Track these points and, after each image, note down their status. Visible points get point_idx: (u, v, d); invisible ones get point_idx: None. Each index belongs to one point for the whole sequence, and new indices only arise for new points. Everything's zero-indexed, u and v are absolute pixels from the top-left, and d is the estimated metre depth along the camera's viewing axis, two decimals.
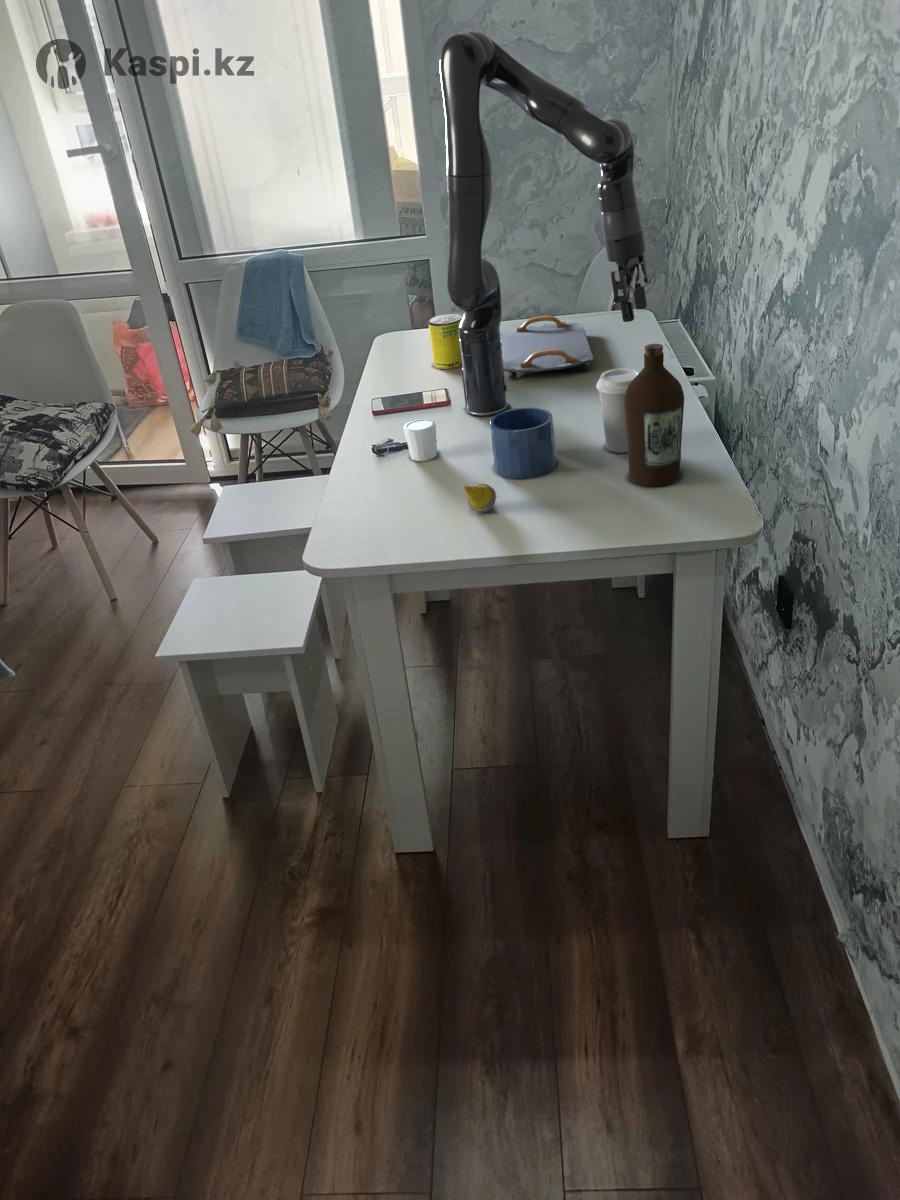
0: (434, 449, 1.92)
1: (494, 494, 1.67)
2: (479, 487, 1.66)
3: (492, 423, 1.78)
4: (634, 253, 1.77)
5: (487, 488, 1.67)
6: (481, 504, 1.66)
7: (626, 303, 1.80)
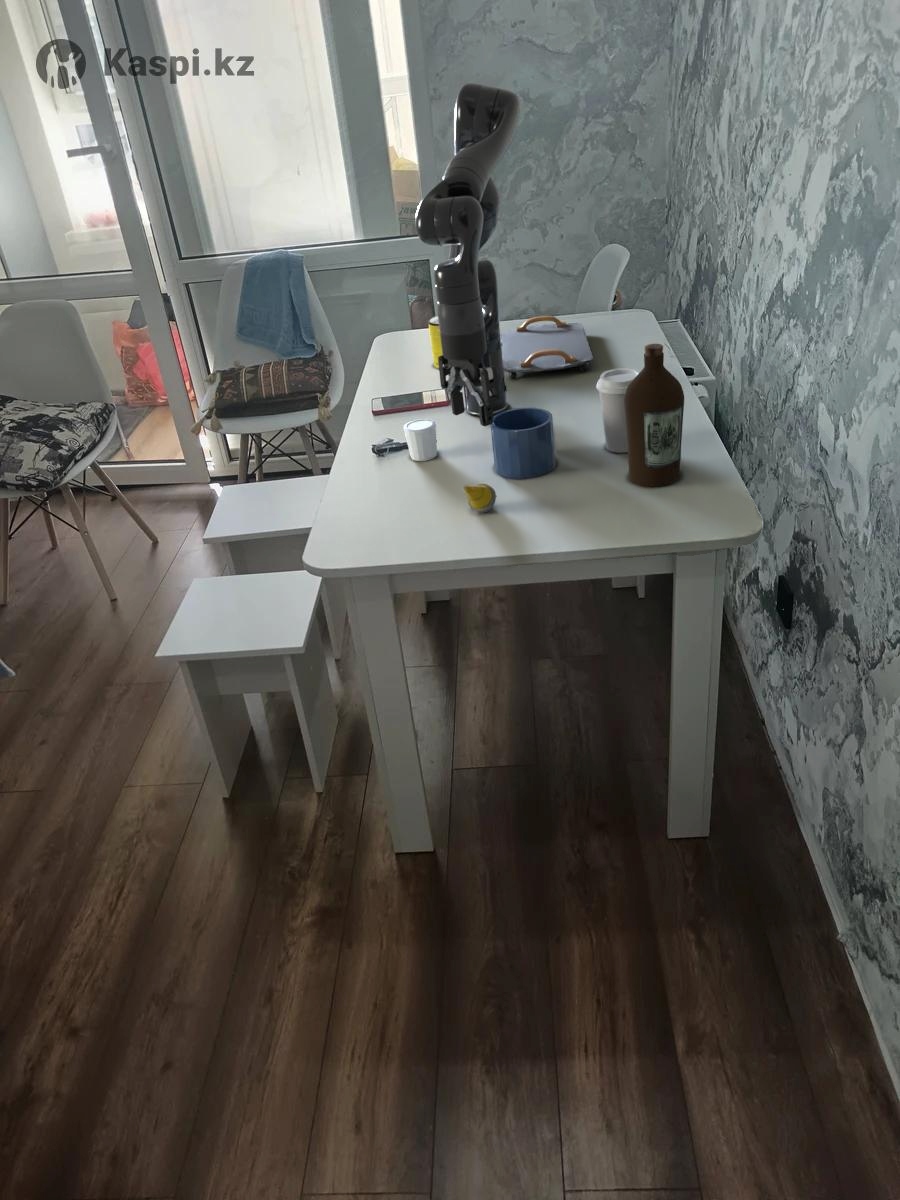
0: (434, 449, 1.92)
1: (494, 494, 1.67)
2: (479, 487, 1.66)
3: (492, 423, 1.78)
4: None
5: (487, 488, 1.67)
6: (481, 504, 1.66)
7: None
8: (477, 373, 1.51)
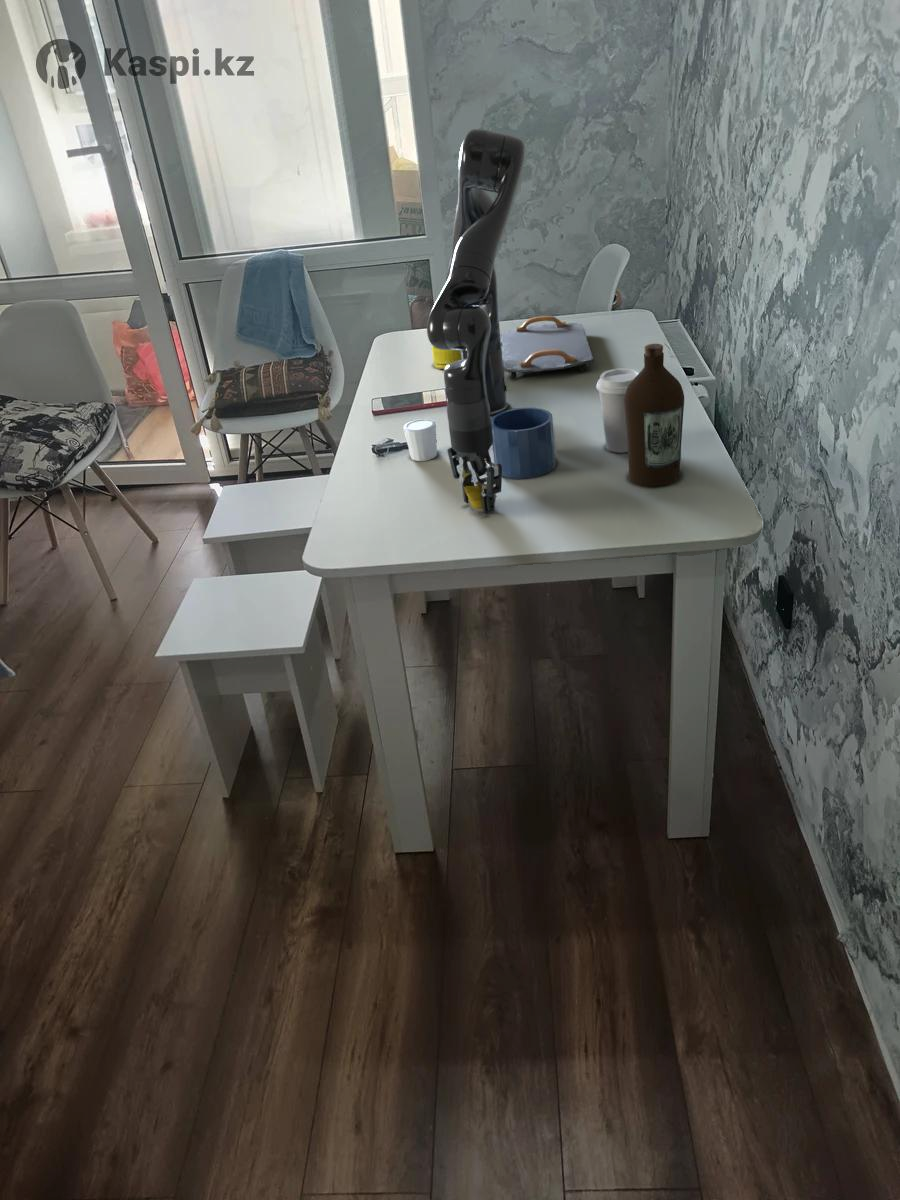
0: (434, 449, 1.92)
1: (494, 494, 1.67)
2: None
3: (492, 423, 1.78)
4: None
5: None
6: (481, 504, 1.66)
7: None
8: (484, 469, 1.61)
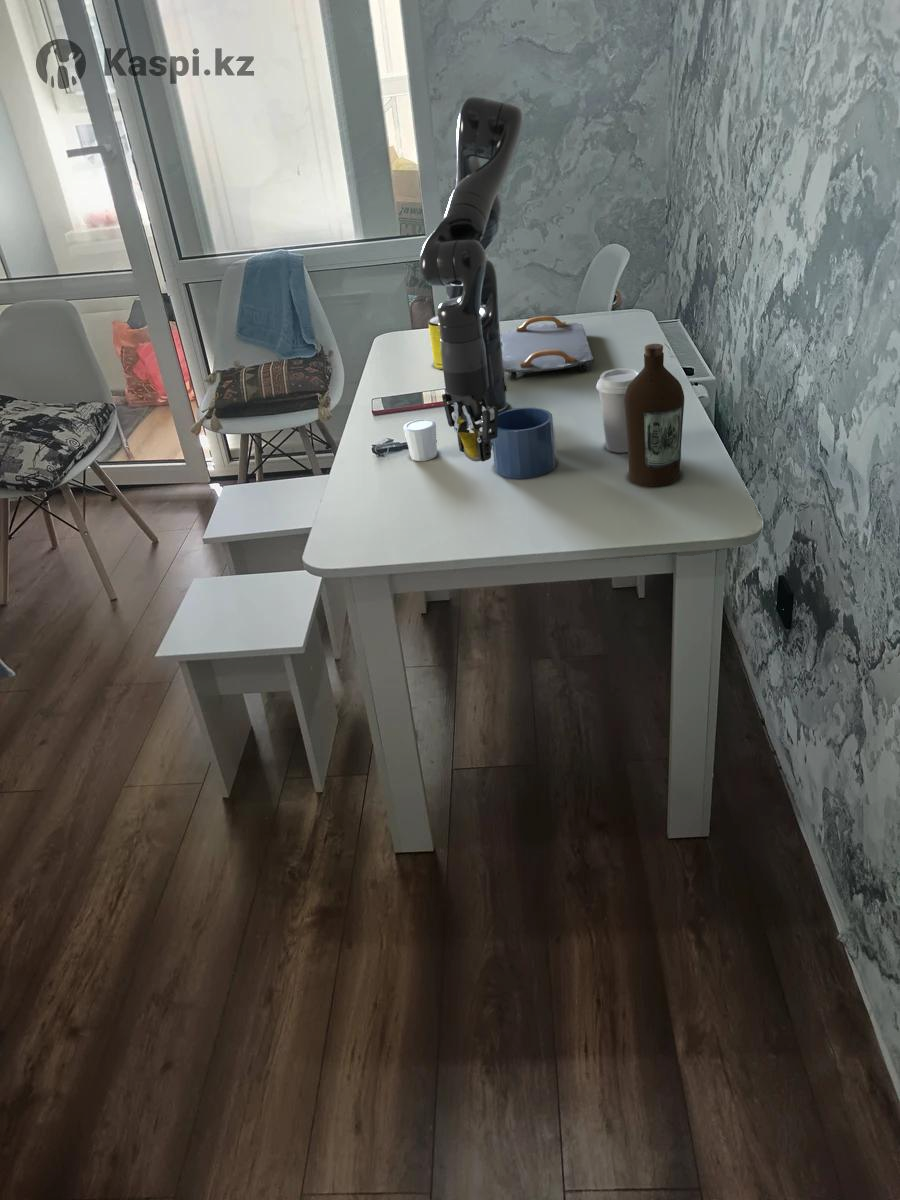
0: (434, 449, 1.92)
1: (490, 442, 1.61)
2: None
3: None
4: None
5: None
6: (477, 452, 1.61)
7: None
8: (480, 413, 1.55)
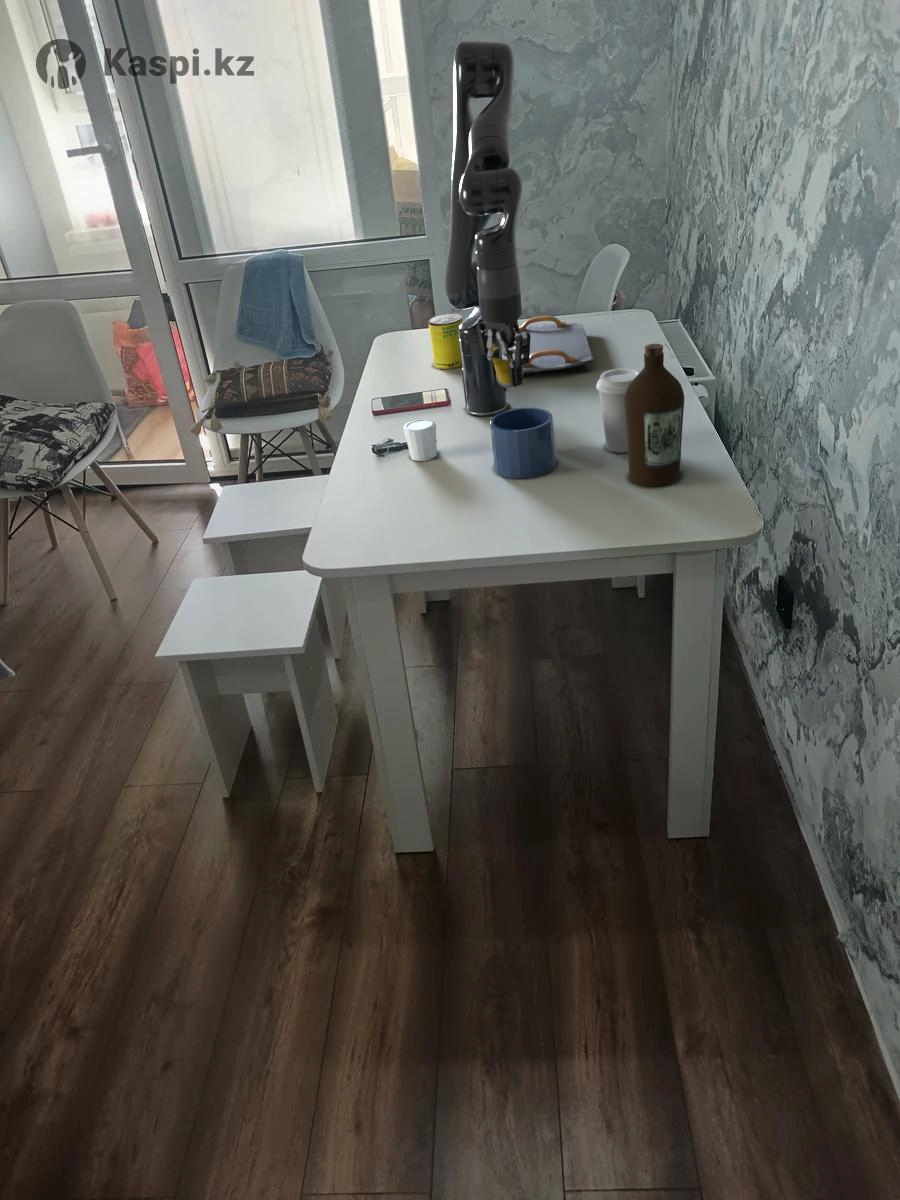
0: (434, 449, 1.92)
1: (522, 368, 1.70)
2: (507, 360, 1.68)
3: (492, 423, 1.78)
4: None
5: None
6: (509, 378, 1.69)
7: None
8: (513, 338, 1.63)
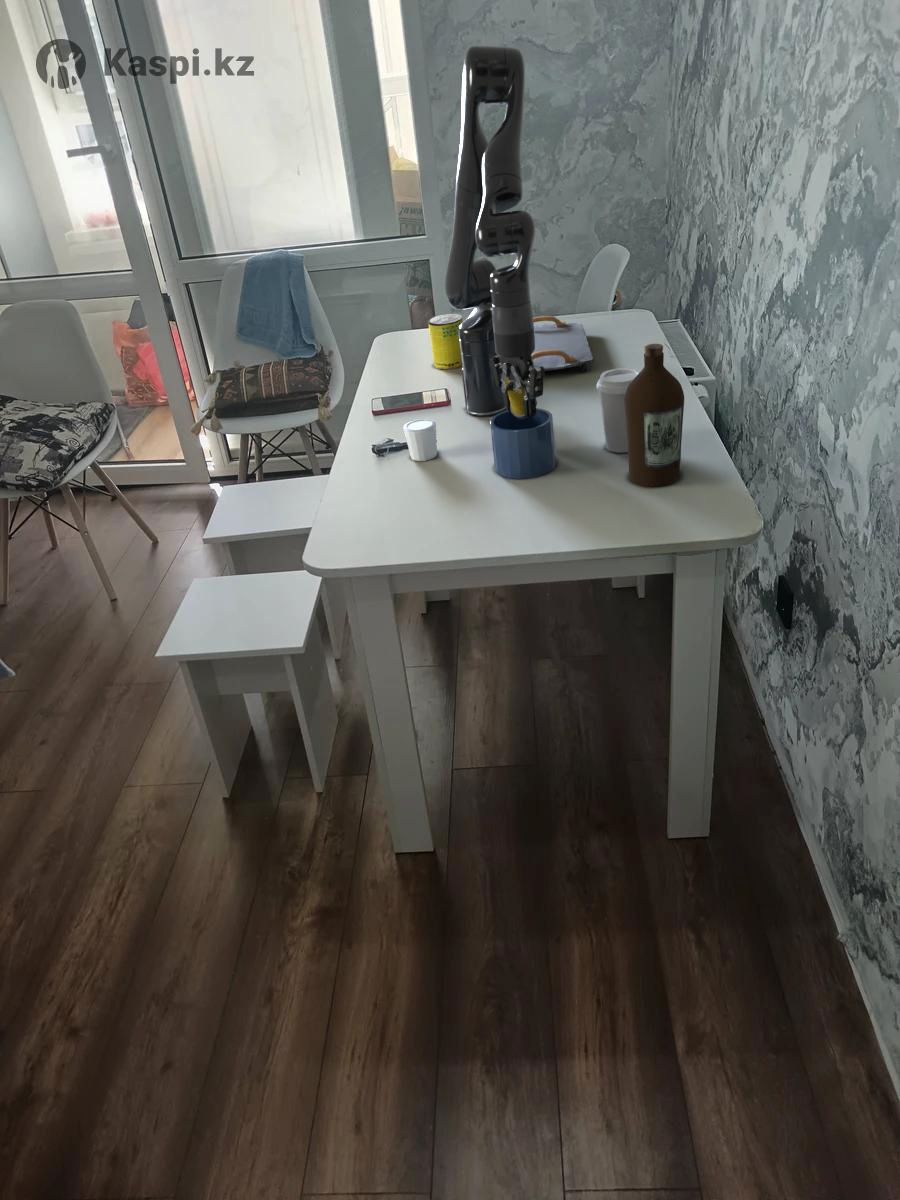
0: (434, 449, 1.92)
1: None
2: (521, 393, 1.75)
3: (492, 423, 1.78)
4: None
5: None
6: (523, 409, 1.75)
7: None
8: (527, 372, 1.70)
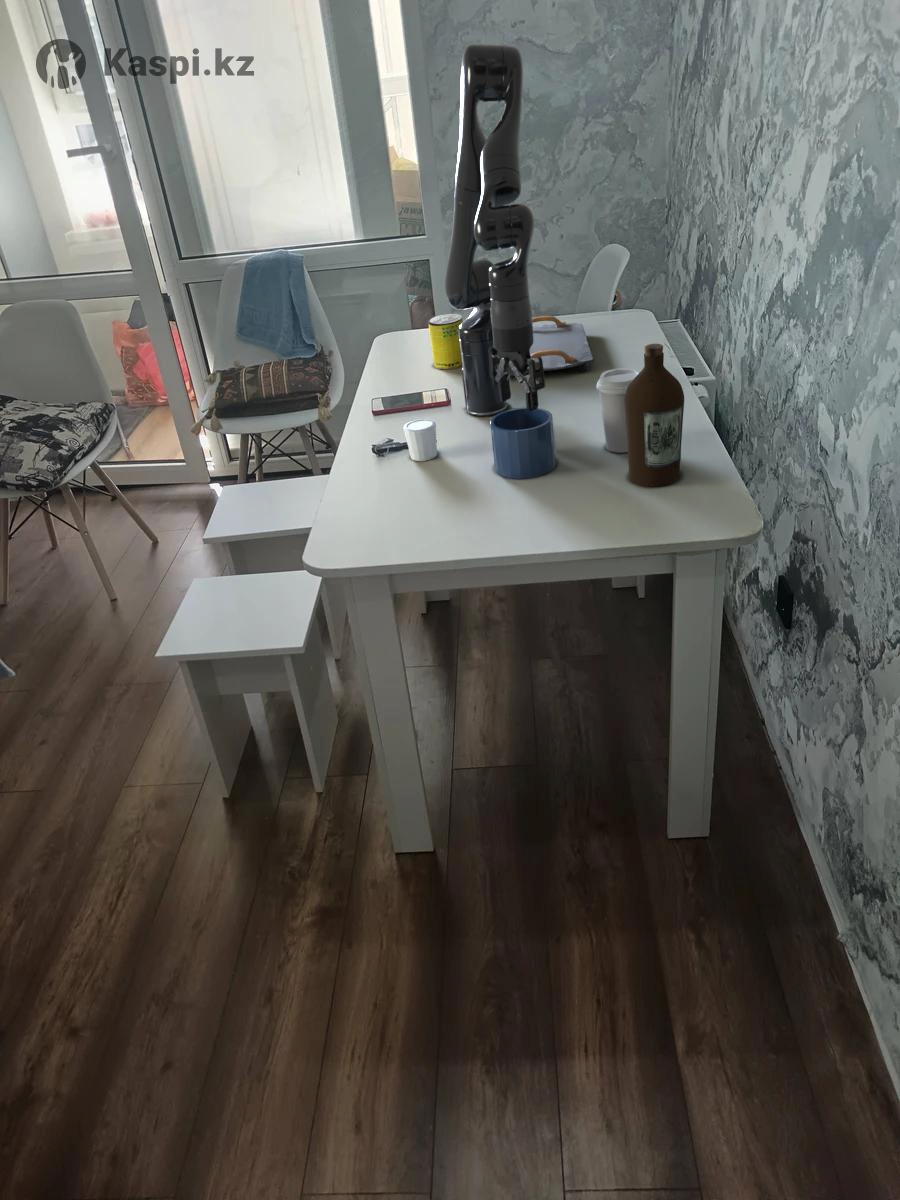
0: (434, 449, 1.92)
1: None
2: None
3: (492, 423, 1.78)
4: None
5: None
6: None
7: None
8: (525, 363, 1.69)
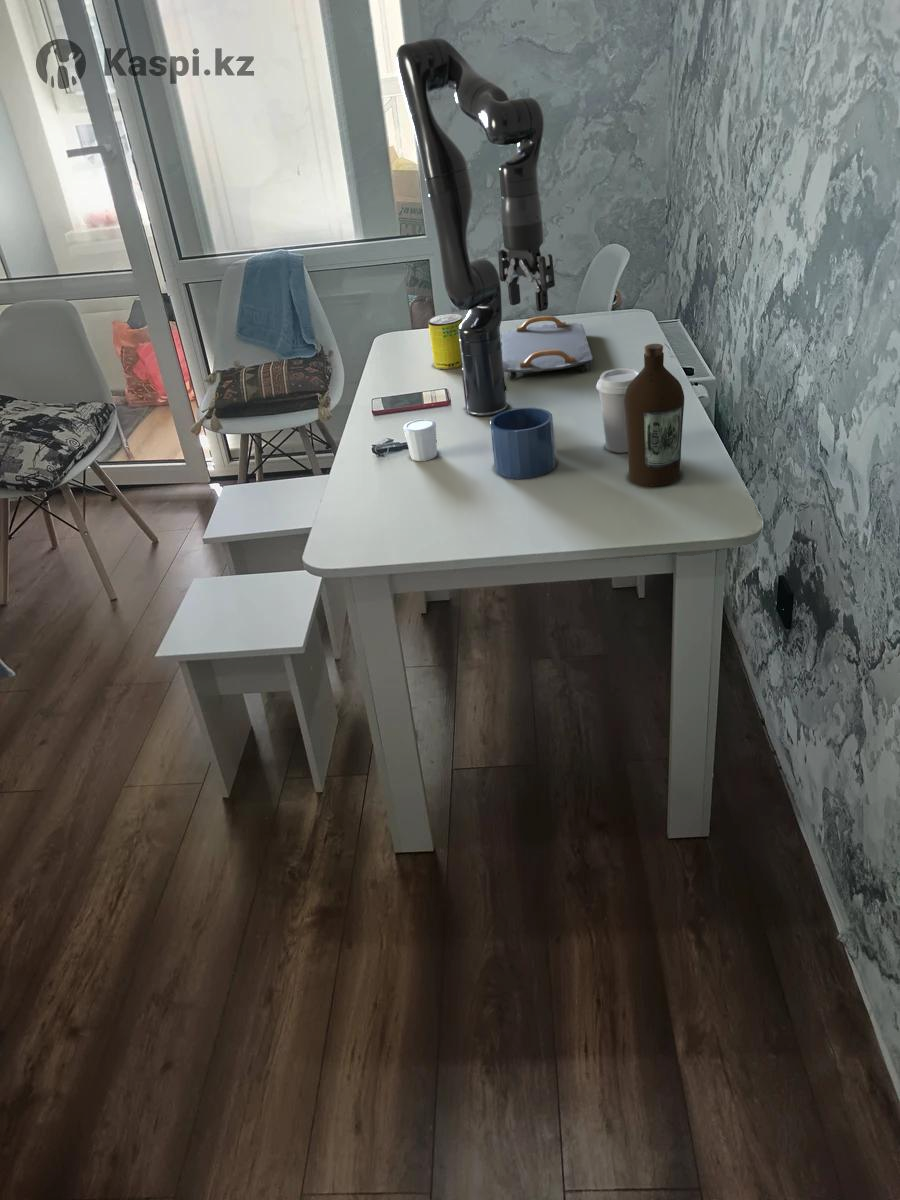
0: (434, 449, 1.92)
1: None
2: None
3: (492, 423, 1.78)
4: None
5: None
6: None
7: None
8: (535, 261, 1.71)
